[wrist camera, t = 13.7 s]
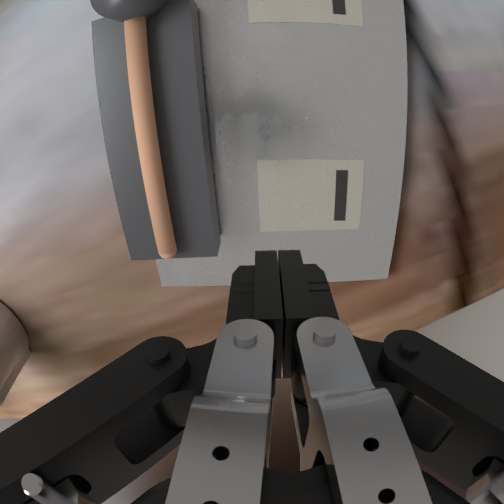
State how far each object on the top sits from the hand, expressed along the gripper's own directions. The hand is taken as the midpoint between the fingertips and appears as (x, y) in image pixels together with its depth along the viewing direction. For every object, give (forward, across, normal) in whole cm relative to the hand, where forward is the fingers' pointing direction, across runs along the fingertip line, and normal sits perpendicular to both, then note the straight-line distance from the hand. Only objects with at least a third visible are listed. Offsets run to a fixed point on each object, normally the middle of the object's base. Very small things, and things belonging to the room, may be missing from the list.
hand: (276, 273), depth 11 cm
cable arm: (+10, +7, -5) cm, 13 cm away
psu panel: (+12, 0, -6) cm, 13 cm away
